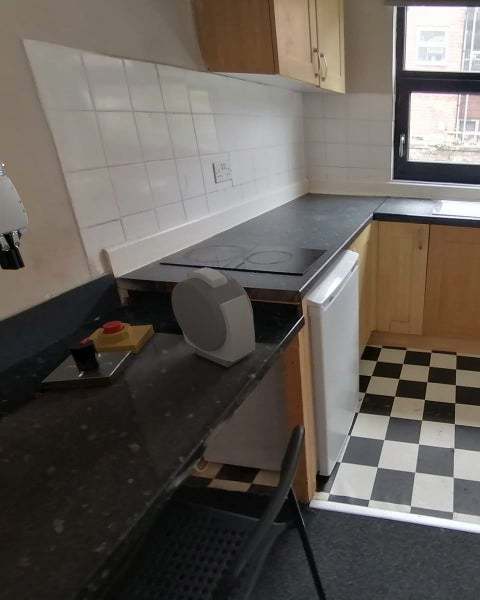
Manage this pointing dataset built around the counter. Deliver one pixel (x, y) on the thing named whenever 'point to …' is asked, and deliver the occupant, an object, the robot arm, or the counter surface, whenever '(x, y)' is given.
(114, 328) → the press knob
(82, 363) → the dial
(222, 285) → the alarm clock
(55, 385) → the dial plate
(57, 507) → the counter surface
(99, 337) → the knob block
